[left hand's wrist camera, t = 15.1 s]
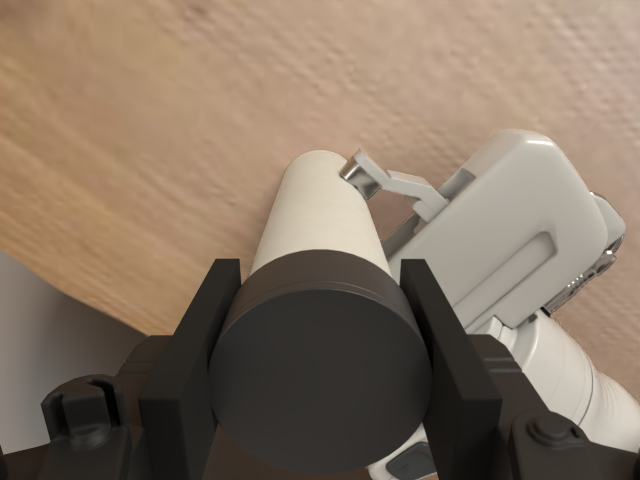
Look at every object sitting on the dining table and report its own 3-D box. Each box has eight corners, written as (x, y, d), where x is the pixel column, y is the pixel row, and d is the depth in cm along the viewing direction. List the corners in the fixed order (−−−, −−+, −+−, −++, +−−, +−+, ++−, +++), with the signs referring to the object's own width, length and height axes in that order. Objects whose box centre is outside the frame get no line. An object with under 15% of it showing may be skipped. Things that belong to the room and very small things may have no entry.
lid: (349, 210, 11) (356, 243, 9) (447, 357, 13) (473, 415, 11) (187, 312, 12) (158, 363, 10) (296, 437, 14) (291, 504, 12)
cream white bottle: (354, 227, 29) (405, 454, 12) (280, 222, 29) (220, 444, 12) (362, 152, 28) (434, 290, 10) (283, 147, 27) (219, 276, 10)
